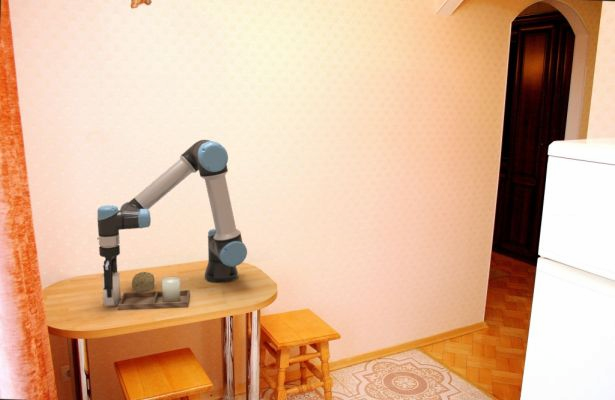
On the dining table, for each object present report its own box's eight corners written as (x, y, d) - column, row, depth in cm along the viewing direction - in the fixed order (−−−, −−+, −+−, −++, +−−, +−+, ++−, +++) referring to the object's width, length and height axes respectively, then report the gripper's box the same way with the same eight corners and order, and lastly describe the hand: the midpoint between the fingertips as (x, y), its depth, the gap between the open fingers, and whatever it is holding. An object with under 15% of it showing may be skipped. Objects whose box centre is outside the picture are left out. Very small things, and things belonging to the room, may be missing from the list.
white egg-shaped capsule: (181, 297, 213) (180, 276, 211) (179, 304, 206) (179, 282, 205) (163, 298, 212) (162, 277, 210) (161, 305, 205) (160, 283, 204)
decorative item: (140, 302, 220) (153, 285, 217) (122, 287, 220) (135, 270, 218) (151, 295, 229) (163, 278, 226) (134, 280, 229) (146, 264, 227)
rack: (189, 297, 217) (189, 290, 216) (187, 309, 204) (187, 302, 203) (124, 299, 213) (124, 292, 212) (118, 312, 200) (117, 305, 199)
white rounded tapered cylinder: (122, 300, 212) (120, 271, 210) (119, 306, 206) (117, 277, 204) (105, 300, 211) (104, 272, 209) (102, 306, 205) (100, 277, 203)
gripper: (104, 239, 213) (107, 292, 217) (93, 252, 194) (96, 311, 198) (123, 238, 214) (126, 292, 218) (114, 252, 195) (117, 310, 200)
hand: (112, 301), depth 208 cm, fingers closed on white rounded tapered cylinder, 6 cm apart
